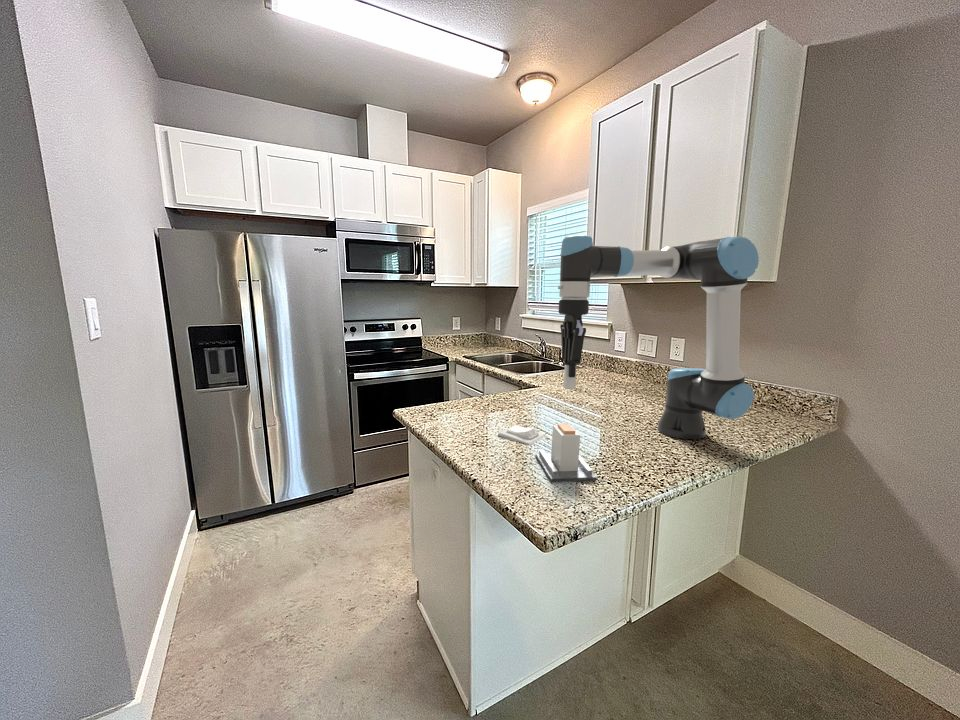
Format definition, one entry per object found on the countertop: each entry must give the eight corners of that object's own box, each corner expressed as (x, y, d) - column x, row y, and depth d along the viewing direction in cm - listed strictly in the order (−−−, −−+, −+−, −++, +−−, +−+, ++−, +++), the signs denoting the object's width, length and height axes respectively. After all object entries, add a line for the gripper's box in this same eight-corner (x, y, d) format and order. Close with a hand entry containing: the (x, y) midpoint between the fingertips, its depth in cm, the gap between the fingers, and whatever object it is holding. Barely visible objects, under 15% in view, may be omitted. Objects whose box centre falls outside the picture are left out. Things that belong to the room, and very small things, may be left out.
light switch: (531, 437, 122) (498, 425, 129) (530, 449, 123) (497, 437, 130) (547, 428, 130) (515, 418, 138) (546, 439, 131) (514, 428, 139)
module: (568, 458, 111) (570, 422, 109) (577, 470, 103) (580, 432, 101) (551, 458, 110) (553, 422, 108) (559, 471, 102) (561, 432, 101)
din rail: (574, 455, 115) (575, 447, 115) (596, 480, 100) (596, 471, 99) (535, 456, 114) (535, 448, 114) (551, 482, 98) (551, 473, 98)
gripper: (552, 298, 105) (548, 382, 109) (568, 299, 92) (563, 394, 96) (579, 298, 106) (574, 382, 110) (598, 299, 93) (592, 394, 97)
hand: (569, 388), depth 103 cm, fingers closed
